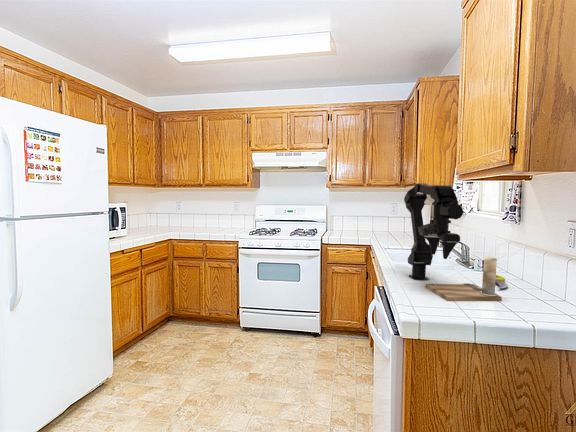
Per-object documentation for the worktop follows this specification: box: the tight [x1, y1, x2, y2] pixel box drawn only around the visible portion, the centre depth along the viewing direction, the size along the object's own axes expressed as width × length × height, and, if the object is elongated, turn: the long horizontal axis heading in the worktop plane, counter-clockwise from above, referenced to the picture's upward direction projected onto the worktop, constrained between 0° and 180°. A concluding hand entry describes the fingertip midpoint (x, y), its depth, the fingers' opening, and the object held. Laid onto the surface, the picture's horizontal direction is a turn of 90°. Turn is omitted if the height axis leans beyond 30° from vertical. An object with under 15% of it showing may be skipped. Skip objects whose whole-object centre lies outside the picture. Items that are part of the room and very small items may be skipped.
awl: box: [481, 256, 498, 295], centre depth 124 cm, size 4×4×13 cm
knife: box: [495, 274, 509, 289], centre depth 145 cm, size 8×3×25 cm
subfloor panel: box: [424, 283, 503, 302], centre depth 129 cm, size 17×20×2 cm
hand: (438, 256), depth 135 cm, fingers open, 9 cm apart
